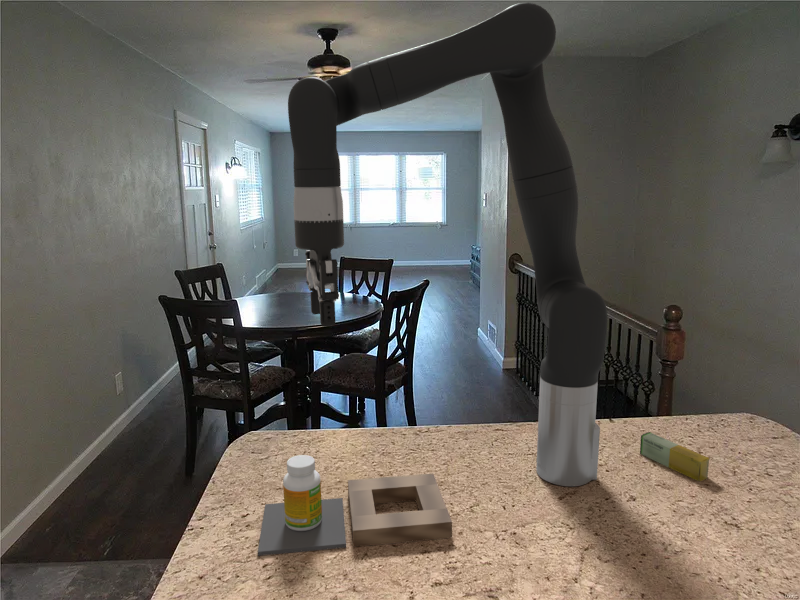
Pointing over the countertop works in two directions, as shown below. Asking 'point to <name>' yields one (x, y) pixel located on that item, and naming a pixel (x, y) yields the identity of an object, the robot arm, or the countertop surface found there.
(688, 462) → the medication box
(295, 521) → the supplement bottle
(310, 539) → the rubber mat
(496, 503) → the countertop surface
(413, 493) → the walnut socket
